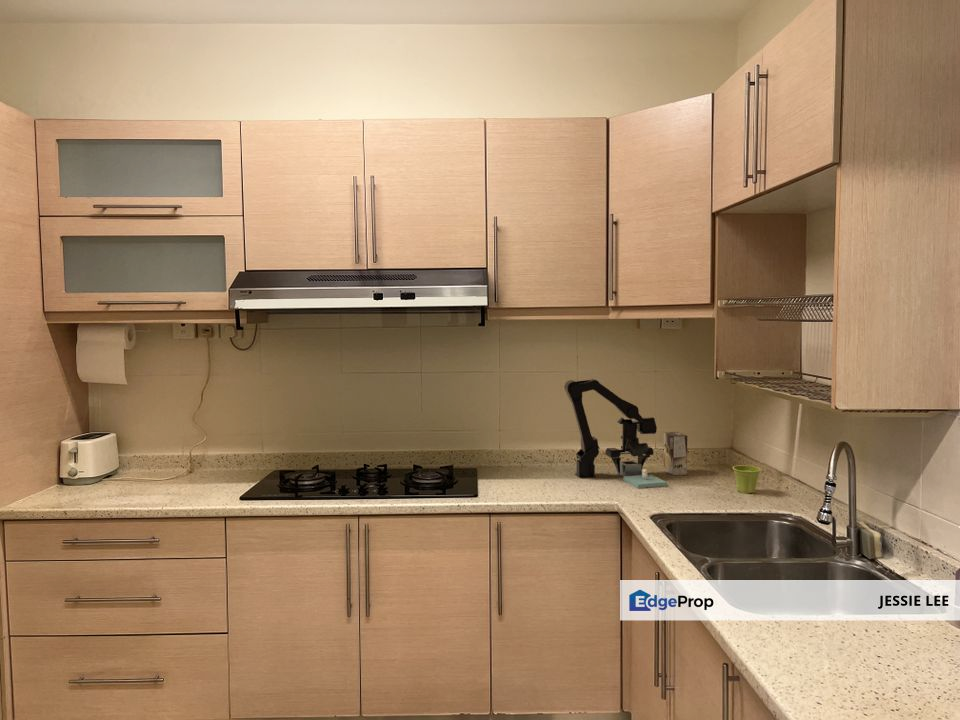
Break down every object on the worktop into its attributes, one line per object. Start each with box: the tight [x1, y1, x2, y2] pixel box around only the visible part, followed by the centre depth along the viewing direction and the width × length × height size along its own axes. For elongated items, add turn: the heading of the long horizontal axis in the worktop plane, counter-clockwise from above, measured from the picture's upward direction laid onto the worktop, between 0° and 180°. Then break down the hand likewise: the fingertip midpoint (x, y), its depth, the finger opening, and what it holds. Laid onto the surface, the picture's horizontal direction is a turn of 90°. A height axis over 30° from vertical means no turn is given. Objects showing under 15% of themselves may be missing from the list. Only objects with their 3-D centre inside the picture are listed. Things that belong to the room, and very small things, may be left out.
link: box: [617, 460, 642, 478], centre depth 253 cm, size 7×7×5 cm
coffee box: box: [663, 431, 688, 476], centre depth 256 cm, size 9×6×16 cm
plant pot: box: [732, 464, 762, 495], centre depth 228 cm, size 9×9×9 cm
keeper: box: [623, 468, 668, 489], centre depth 241 cm, size 12×12×6 cm
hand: (629, 472), depth 253 cm, fingers open, 9 cm apart
